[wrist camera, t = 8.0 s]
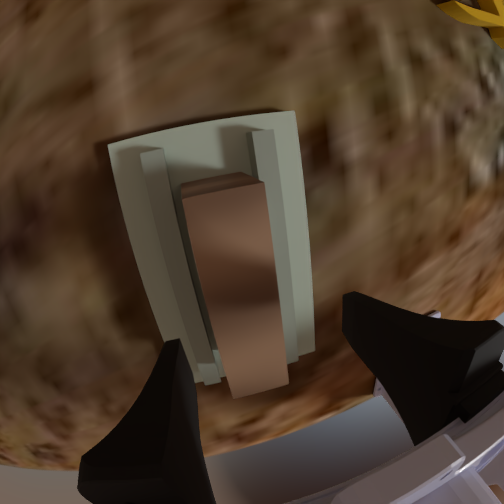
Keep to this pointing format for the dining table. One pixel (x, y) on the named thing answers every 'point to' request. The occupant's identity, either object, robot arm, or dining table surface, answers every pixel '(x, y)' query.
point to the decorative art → (480, 16)
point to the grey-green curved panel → (176, 233)
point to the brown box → (238, 278)
